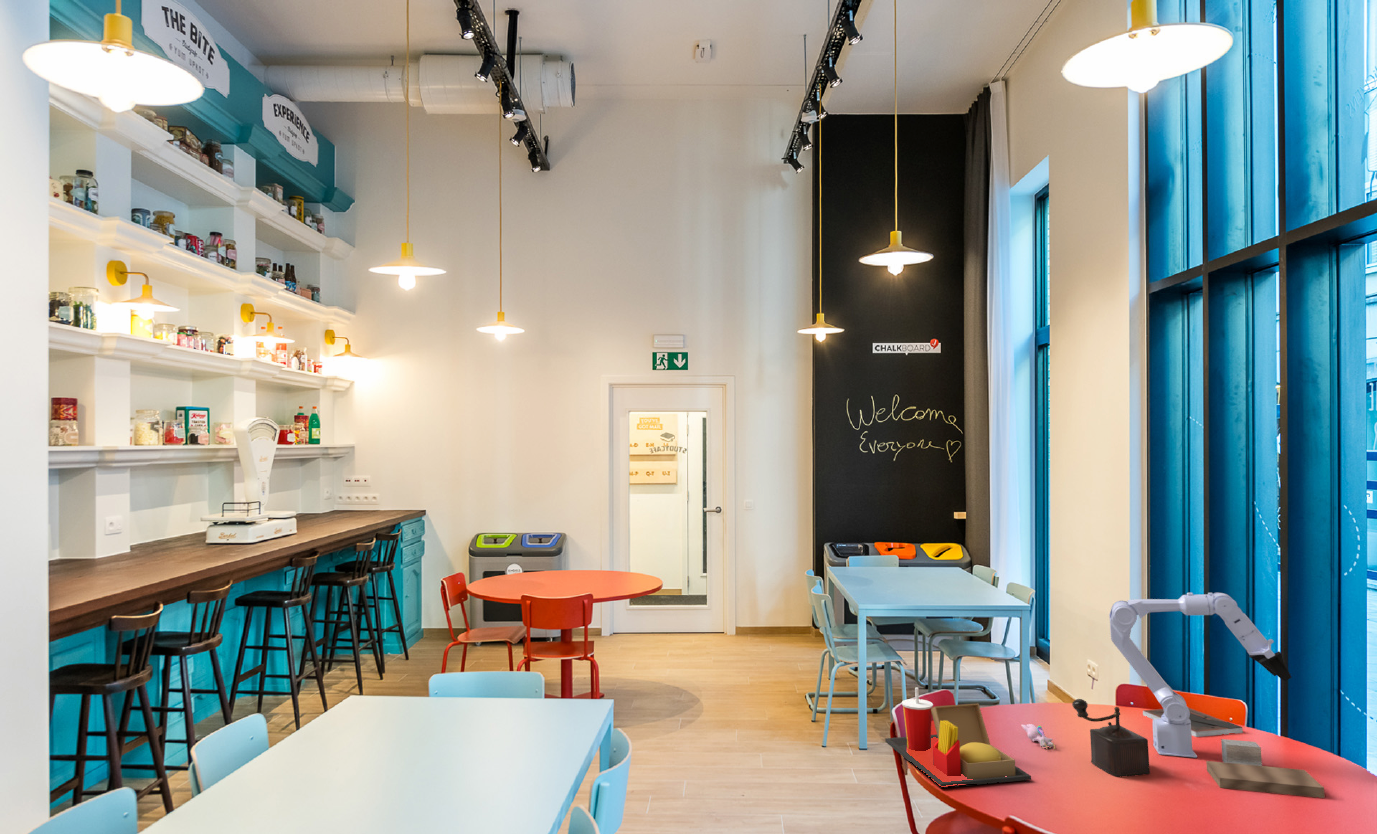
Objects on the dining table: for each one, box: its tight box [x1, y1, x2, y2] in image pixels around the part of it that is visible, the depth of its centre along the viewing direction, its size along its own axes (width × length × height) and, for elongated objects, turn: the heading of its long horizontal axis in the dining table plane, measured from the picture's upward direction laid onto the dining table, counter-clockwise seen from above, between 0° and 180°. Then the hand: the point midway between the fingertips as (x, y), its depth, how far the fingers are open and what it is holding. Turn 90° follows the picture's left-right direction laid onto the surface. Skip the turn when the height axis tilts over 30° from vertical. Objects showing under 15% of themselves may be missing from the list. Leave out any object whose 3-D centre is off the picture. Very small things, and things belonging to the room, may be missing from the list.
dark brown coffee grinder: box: [1071, 698, 1151, 778], centre depth 215 cm, size 16×11×18 cm
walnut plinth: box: [1206, 760, 1326, 799], centre depth 202 cm, size 22×12×2 cm, turn 70°
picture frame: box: [1142, 707, 1244, 738], centre depth 249 cm, size 16×2×22 cm
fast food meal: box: [884, 687, 1032, 786], centre depth 222 cm, size 26×35×18 cm
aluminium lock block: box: [1220, 738, 1263, 766], centre depth 215 cm, size 8×4×6 cm, turn 70°
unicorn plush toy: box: [1020, 723, 1057, 750], centre depth 236 cm, size 6×6×15 cm
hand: (1282, 676), depth 215 cm, fingers open, 7 cm apart
